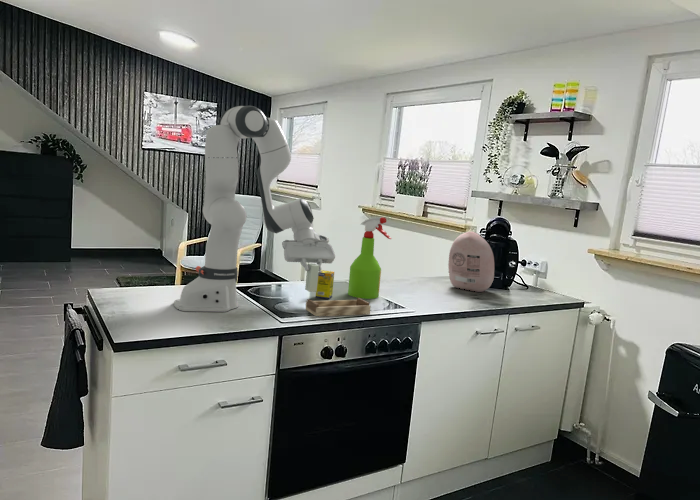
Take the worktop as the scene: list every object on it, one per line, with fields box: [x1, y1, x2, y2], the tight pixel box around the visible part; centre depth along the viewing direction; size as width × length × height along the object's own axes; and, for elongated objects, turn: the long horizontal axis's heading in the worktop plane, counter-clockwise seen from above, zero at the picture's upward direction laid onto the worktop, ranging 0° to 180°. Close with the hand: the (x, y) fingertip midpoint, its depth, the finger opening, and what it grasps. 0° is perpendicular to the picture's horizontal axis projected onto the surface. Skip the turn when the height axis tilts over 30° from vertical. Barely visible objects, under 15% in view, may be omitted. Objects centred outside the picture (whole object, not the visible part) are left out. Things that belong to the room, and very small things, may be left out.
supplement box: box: [315, 269, 335, 300], centre depth 216 cm, size 6×6×11 cm
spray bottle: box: [347, 216, 393, 300], centre depth 225 cm, size 14×18×35 cm
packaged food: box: [447, 231, 496, 293], centre depth 261 cm, size 22×20×30 cm
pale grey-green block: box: [304, 263, 319, 293], centre depth 198 cm, size 3×4×10 cm
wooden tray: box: [305, 298, 371, 317], centre depth 194 cm, size 22×10×4 cm, turn 118°
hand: (313, 270), depth 197 cm, fingers closed on pale grey-green block, 3 cm apart
